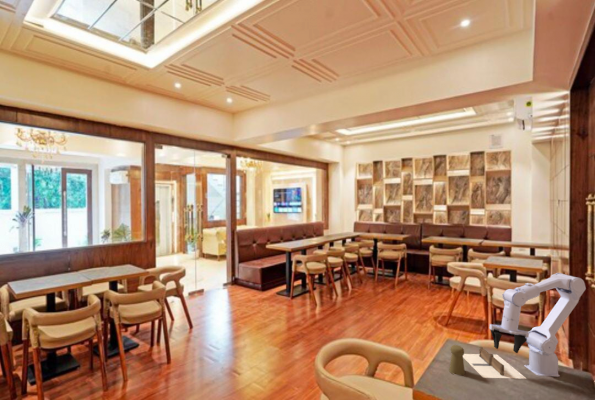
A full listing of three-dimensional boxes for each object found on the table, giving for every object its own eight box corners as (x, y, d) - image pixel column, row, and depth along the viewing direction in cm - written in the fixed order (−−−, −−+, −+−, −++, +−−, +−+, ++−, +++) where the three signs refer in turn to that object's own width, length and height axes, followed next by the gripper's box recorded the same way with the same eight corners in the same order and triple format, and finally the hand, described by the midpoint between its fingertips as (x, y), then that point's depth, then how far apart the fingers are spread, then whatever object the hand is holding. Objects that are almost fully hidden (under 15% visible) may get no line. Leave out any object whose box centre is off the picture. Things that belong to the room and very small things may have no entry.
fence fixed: (482, 355, 145) (482, 345, 145) (494, 366, 136) (494, 355, 136) (478, 355, 145) (478, 345, 145) (490, 366, 136) (490, 355, 136)
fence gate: (494, 366, 136) (494, 357, 136) (504, 375, 129) (504, 365, 129) (490, 366, 136) (491, 357, 136) (501, 375, 129) (501, 365, 129)
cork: (461, 368, 135) (461, 343, 135) (467, 376, 129) (467, 350, 129) (446, 367, 135) (447, 342, 135) (452, 375, 129) (452, 349, 129)
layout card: (497, 355, 146) (497, 354, 146) (526, 379, 127) (526, 378, 127) (459, 354, 147) (459, 353, 147) (483, 378, 127) (483, 377, 127)
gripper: (496, 317, 129) (491, 350, 129) (535, 325, 127) (529, 358, 127) (489, 312, 136) (484, 342, 136) (525, 319, 134) (520, 350, 134)
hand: (505, 349), depth 132 cm, fingers open, 7 cm apart
